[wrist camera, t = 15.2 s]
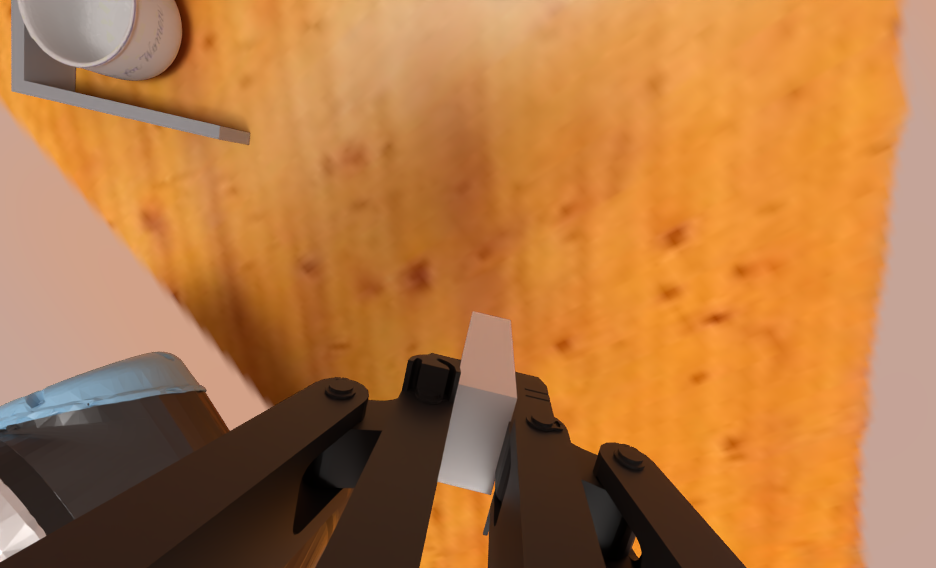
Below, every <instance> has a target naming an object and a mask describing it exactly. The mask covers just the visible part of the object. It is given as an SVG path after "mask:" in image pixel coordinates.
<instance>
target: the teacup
mask: <svg viewBox="0 0 936 568" xmlns="http://www.w3.org/2000/svg"><path fill="white" fill-rule="evenodd" d="M17 2H18V7H19V10H20V13H21V16H22V19H23V22H24V24H25V26H26V28H27V30H28V32H29V34H30V36H31V37H32V38H33V39H34V40H35V42H36V43H37V44H38V46H39V47H40V48H41V49H42V50H43V51H44V52H45V53H47V54H48V55H49V56H51V57H52V58H53V59H55V60H57V61H59V62H61V63H64V64H66V65H69V66H72V67H77V68H83V69H86V70H90V71H93V72H96V73H99V74H103V75H106V76H110V77H114V78H118V79H123V80H132V81H138V80H146V79H150V78H153V77H155V76H157V75H159V74H161V73H162V72H164V71H165V70H166V69H167V68H168V67H169V66H170V65H171V64H172V62H173V61H174V59H175V58H176V56H177V54H178V51H179V48H180V44H181V39H182V23H181V18H180V13H179V10H178V7H177V5H176V3H175V1H174V0H17Z"/></svg>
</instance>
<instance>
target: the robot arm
mask: <svg viewBox="0 0 936 568" xmlns="http://www.w3.org/2000/svg"><path fill="white" fill-rule="evenodd" d="M205 392H206V389H205V387H203V386H202V385H199V383H198V382H197V381H196V380H195V378H194V377H193V376H192V374H191V373H190V371H189V370H188V369H187V367H186V366H185V365H184V363H183V362H182V361H181V359H179V358H178V357H177V356H175V355H173V354H171V353H166V352H152V353H147V354H143V355H139V356H135V357H131V358H128V359H125V360H122V361H119V362H115V363H112V364H109V365H106V366H103V367H100V368H97V369H95V370H91V371H89V372H86V373H83V374H80V375H77V376H75V377H72V378H69V379H67V380H64V381H61V382H59V383H56V384H54V385H51V386H48V387H47V388H45V389H43V390H42V391H37V392H34V393H32V394H30V395H28V396H25V397H21V398H18V399H16V400H13V401H11V402H9V403H6V404H4V405H2V406H0V568H419V566H420V562H421V557H422V552H423V547H424V543H425V538H426V533H427V528H428V524H429V519H430V514H431V509H432V505H433V500H434V495H435V490H436V486H437V482H441V483H445V484H449V485H453V486H457V487H461V488H465V489H469V490H473V491H477V492H481V493H485V494H489V495H491V492H492V489H493V485H494V481H495V492H494V495H493V499H492V503H491V506H490V510H489V513H488V517H487V521H486V524H485V528H484V532H483V535H488V532H489V551H488V568H746V567H745V566H744V564H743V563H742V562H741V561H740V560H739V559H738V558H737V556H736V555H735V554H734V553H733V552H732V551H731V550H730V548H729V547H728V546H727V545H726V544H725V543H724V542H723V540H722V539H721V538H720V537H719V536H718V535H717V534H716V533H715V531H714V530H713V529H712V528H711V527H710V526H709V525H708V523H707V522H706V521H705V520H704V519H703V518H702V517H701V515H700V514H699V513H698V512H697V511H696V510H695V509H694V508H693V506H692V505H691V504H690V503H689V502H688V501H687V500H686V498H685V497H684V496H683V495H682V494H681V493H680V492H679V490H678V489H677V488H676V487H675V486H674V485H673V484H672V483H671V481H670V480H669V479H668V478H667V477H666V476H665V475H664V473H663V472H662V471H661V470H660V469H659V468H658V467H657V465H656V464H655V463H654V462H653V461H652V460H651V459H649V458H648V457H647V456H646V455H644V454H643V453H641V452H639V451H638V450H637V449H636V448H634V447H630V446H629V445H626V444H619V443H605V444H603V445H601V447H600V450H599V453H598V455H596V454H593V453H591V452H589V451H586V450H584V449H582V448H580V447H578V446H576V445H574V444H572V443H571V441H570V437H569V434H568V430H567V429H566V427H565V425H564V424H563V423H562V422H561V421H559V420H558V419H557V418H555V417H554V415H553V411H552V407H551V403H550V398H549V396H548V390H547V386H546V385H545V384H544V383H543V382H542V381H541V380H540V379H539V378H538V377H534V376H530V375H526V374H522V373H518V372H515V366H514V354H513V343H512V331H511V320H508V319H503V318H499V317H495V316H491V315H487V314H482V313H478V312H474V311H473V312H472V316H471V321H470V325H469V329H468V333H467V338H466V342H465V346H464V350H463V354H462V359H461V360H458V359H454V358H450V357H446V356H442V355H438V354H434V353H431V354H428V355H416V356H412V357H411V358H410V359H409V360H408V364H407V368H406V373H405V378H404V383H403V387H402V391H401V393H400V395H399V397H398V398H397V399H394V400H387V401H375V400H368V397H369V394H368V390H367V389H366V388H365V387H364V385H362V384H360V383H358V382H356V381H353V380H349V379H348V378H341V377H335V378H329V379H323V380H320V381H318V382H315V383H314V384H312V385H310V386H308V387H307V388H305V389H303V390H301V391H300V392H298V393H296V394H294V395H293V396H291V397H289V398H287V399H286V400H284V401H282V402H280V403H278V404H277V405H275V406H273V407H271V408H270V409H268V410H266V411H264V412H263V413H261V414H259V415H257V416H256V417H254V418H252V419H251V420H249V421H247V422H245V423H243V424H242V425H240V426H238V427H236V428H235V429H233V430H231V431H229V429H228V427H227V426H226V424H225V423H224V421H223V419H222V418H221V416H220V415H219V413H218V412H217V410H216V408H215V407H214V405H213V404H212V402H211V401H210V399H209V398H208V396H207V394H206V393H205ZM635 537H637V539H638V542H639V544H640V547H641V551H642V554H641V556H640V558H638V557H637V556H636V554H635V552H634V551H633V549H632V546H633V543H634V540H635Z"/></svg>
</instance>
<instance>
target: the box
mask: <svg viewBox="0 0 936 568" xmlns="http://www.w3.org/2000/svg"><path fill="white" fill-rule="evenodd" d="M11 31H12V91H13V92H17V93H22V94H26V95H30V96H34V97H39V98H43V99H47V100H52V101H56V102H60V103H65V104H69V105H73V106H77V107H82V108H86V109H90V110H95V111H99V112H103V113H108V114H112V115H116V116H120V117H125V118H129V119H133V120H138V121H142V122H146V123H151V124H155V125H159V126H163V127H168V128H172V129H176V130H181V131H185V132H189V133H194V134H198V135H202V136H207V137H211V138H215V139H220V140H225V141H230V142H236V143H241V144H246V145H249V140H250V133H248V132H244V131H240V130H235V129H231V128H227V127H223V126H218V125H214V124H210V123H205V122H201V121H197V120H192V119H188V118H184V117H179V116H175V115H171V114H167V113H162V112H158V111H154V110H149V109H145V108H141V107H136V106H132V105H128V104H123V103H119V102H115V101H110V100H106V99H102V98H97V97H93V96H89V95H85V94H80V93H76V92H75V75H76V67H72V66H69V65H66V64H64V63H61V62H59V61H57V60H55V59H53V58H52V57H51V56H49V55H48V54H47V53H45V52H44V51H43V50H42V49H41V48H40V47H39V46H38V44H37V43H36V42H35V40H34V39H33V38H32V37H31V36H30V34H29V32H28V30H27V28H26V26H25V24H24V22H23V19H22V16H21V13H20V10H19V7H18V2H17V0H11Z"/></svg>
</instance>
